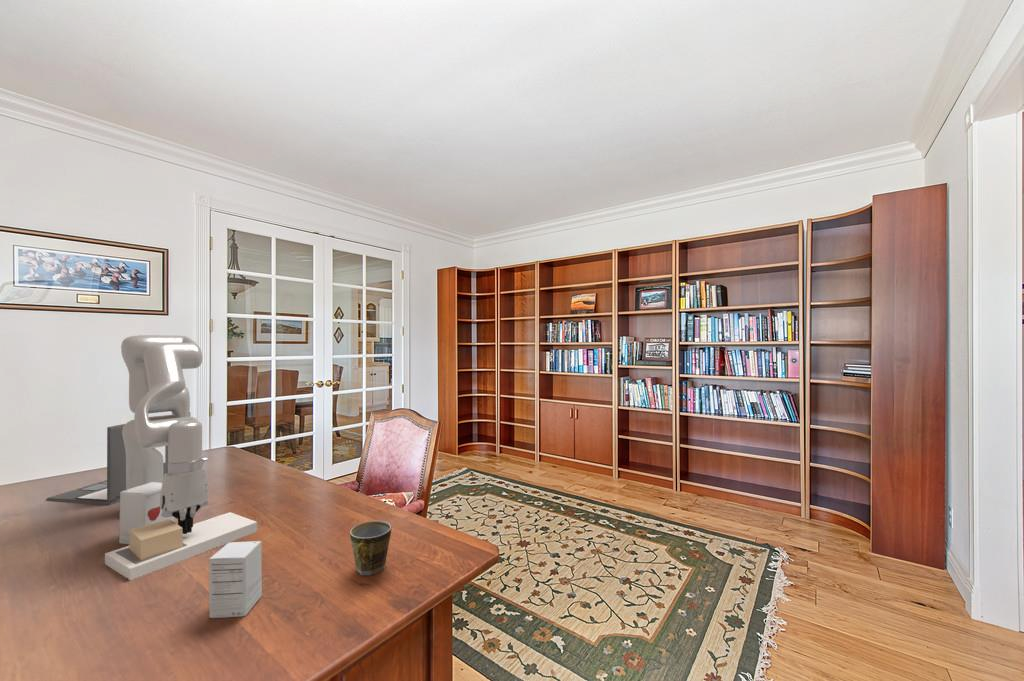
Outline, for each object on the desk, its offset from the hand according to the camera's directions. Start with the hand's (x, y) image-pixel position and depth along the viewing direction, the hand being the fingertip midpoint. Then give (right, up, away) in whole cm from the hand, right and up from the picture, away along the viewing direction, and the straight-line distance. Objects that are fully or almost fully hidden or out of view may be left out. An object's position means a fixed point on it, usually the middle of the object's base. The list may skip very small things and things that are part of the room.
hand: (185, 532), depth 117 cm
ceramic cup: (+55, -5, -12) cm, 56 cm away
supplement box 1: (-15, -5, +6) cm, 17 cm away
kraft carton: (-3, -1, -6) cm, 7 cm away
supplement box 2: (+31, -5, -26) cm, 41 cm away
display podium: (0, -5, +1) cm, 5 cm away
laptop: (-60, -5, +46) cm, 75 cm away
